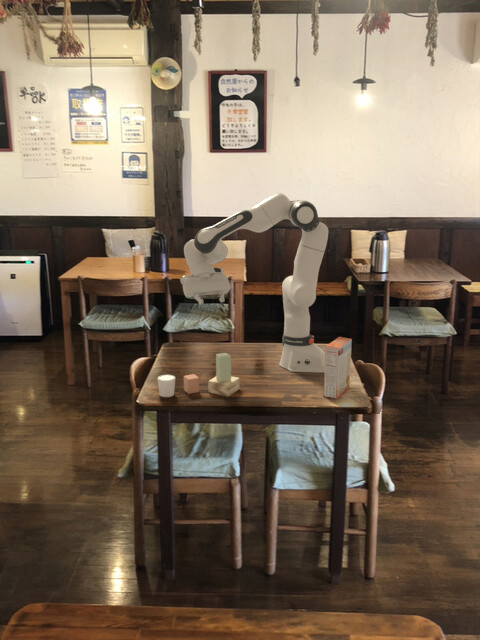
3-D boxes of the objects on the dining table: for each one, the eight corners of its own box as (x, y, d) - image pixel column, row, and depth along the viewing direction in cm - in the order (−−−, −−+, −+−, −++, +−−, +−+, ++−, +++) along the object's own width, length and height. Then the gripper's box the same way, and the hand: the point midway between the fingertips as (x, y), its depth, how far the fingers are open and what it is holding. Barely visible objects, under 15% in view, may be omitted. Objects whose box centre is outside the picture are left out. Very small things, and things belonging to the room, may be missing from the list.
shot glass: (172, 398, 235) (172, 381, 233) (155, 396, 236) (154, 379, 234) (177, 391, 242) (177, 375, 240) (161, 390, 243) (160, 373, 241)
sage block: (226, 376, 245) (226, 352, 242) (231, 380, 241) (231, 356, 238) (216, 378, 243) (215, 354, 241) (220, 382, 239) (220, 357, 237)
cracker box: (335, 385, 250) (338, 336, 245) (349, 388, 247) (353, 338, 242) (322, 396, 239) (324, 345, 233) (336, 400, 236) (339, 347, 230)
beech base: (239, 389, 245) (239, 377, 244) (228, 397, 238) (228, 385, 236) (219, 385, 249) (219, 373, 248) (208, 392, 242) (208, 380, 240)
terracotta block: (194, 388, 246) (194, 374, 244) (199, 392, 242) (198, 377, 240) (183, 390, 243) (183, 375, 242) (188, 394, 240) (188, 379, 238)
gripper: (181, 272, 250) (190, 300, 244) (226, 268, 260) (236, 296, 254) (177, 281, 255) (186, 309, 249) (221, 276, 265) (231, 304, 259)
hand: (212, 302), depth 252 cm, fingers open, 8 cm apart
